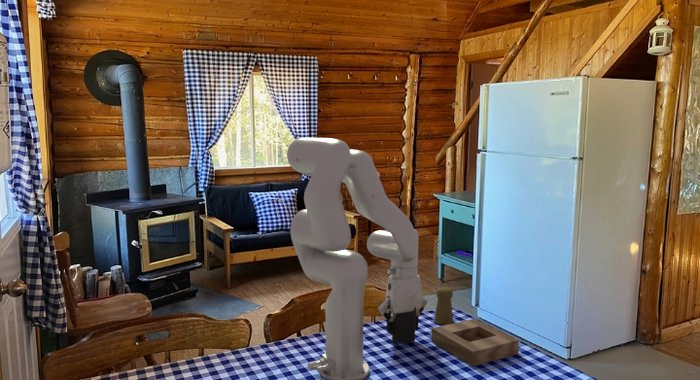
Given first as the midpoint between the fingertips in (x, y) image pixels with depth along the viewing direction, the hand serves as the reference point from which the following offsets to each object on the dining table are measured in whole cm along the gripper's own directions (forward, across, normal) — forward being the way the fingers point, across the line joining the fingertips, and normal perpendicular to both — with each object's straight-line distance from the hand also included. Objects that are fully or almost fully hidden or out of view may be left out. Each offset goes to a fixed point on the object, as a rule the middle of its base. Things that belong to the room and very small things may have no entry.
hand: (402, 330), depth 155 cm
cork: (+3, +21, +7) cm, 22 cm away
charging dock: (+3, +16, -13) cm, 20 cm away
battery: (+3, 0, 0) cm, 3 cm away
